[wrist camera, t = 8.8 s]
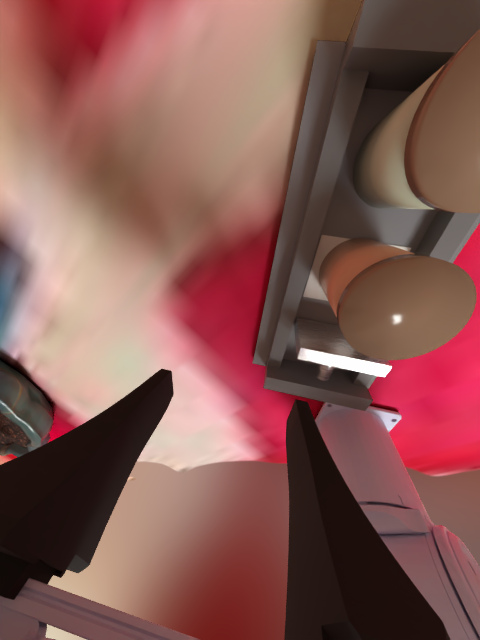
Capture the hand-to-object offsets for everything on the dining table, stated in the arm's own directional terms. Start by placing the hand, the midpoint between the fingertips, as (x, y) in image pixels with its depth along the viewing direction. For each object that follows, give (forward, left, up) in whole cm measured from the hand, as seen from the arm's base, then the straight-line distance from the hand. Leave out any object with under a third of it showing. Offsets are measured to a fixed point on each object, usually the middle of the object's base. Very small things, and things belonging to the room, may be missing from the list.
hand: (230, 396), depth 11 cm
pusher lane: (+6, -7, -9) cm, 13 cm away
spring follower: (0, -7, -8) cm, 11 cm away
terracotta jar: (+6, -7, -8) cm, 13 cm away
